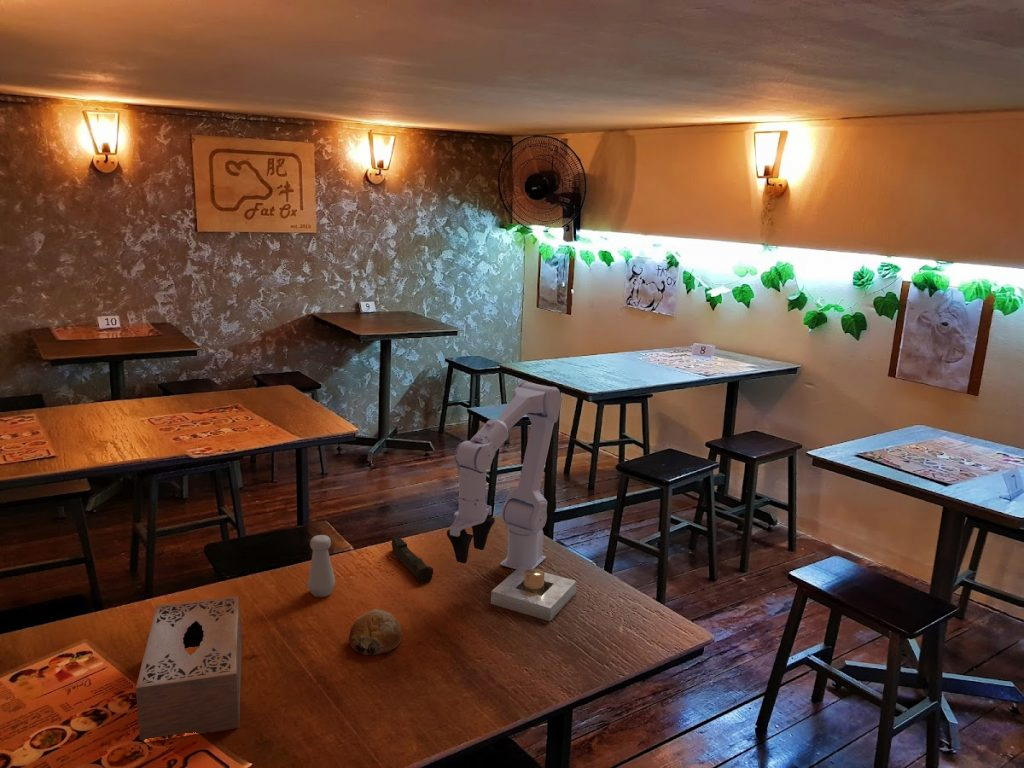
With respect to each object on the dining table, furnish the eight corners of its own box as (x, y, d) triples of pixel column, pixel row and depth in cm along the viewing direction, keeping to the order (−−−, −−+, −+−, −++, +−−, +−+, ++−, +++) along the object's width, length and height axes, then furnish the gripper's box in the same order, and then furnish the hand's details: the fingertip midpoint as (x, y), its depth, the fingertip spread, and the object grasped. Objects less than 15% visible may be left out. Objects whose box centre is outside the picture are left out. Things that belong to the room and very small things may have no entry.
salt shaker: (340, 591, 166) (340, 536, 163) (321, 602, 161) (320, 545, 158) (321, 583, 169) (320, 529, 166) (302, 594, 164) (300, 538, 161)
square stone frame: (520, 577, 175) (520, 565, 174) (575, 593, 169) (576, 580, 168) (491, 603, 163) (491, 591, 162) (549, 621, 157) (550, 608, 156)
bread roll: (404, 663, 147) (418, 623, 147) (365, 662, 139) (380, 619, 140) (373, 642, 153) (387, 604, 154) (334, 640, 145) (348, 600, 146)
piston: (526, 592, 169) (527, 567, 167) (545, 595, 167) (546, 570, 166) (520, 601, 165) (522, 576, 163) (540, 604, 163) (541, 579, 162)
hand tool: (433, 582, 172) (434, 563, 171) (417, 585, 170) (417, 566, 169) (403, 550, 188) (403, 532, 187) (388, 552, 186) (388, 535, 185)
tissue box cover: (159, 654, 140) (156, 605, 138) (241, 643, 145) (239, 595, 143) (140, 745, 117) (135, 688, 115) (239, 728, 121) (236, 673, 119)
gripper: (473, 483, 169) (471, 539, 172) (438, 503, 157) (436, 563, 160) (500, 489, 166) (498, 546, 169) (467, 510, 154) (465, 571, 157)
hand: (470, 555), depth 164 cm, fingers open, 7 cm apart
